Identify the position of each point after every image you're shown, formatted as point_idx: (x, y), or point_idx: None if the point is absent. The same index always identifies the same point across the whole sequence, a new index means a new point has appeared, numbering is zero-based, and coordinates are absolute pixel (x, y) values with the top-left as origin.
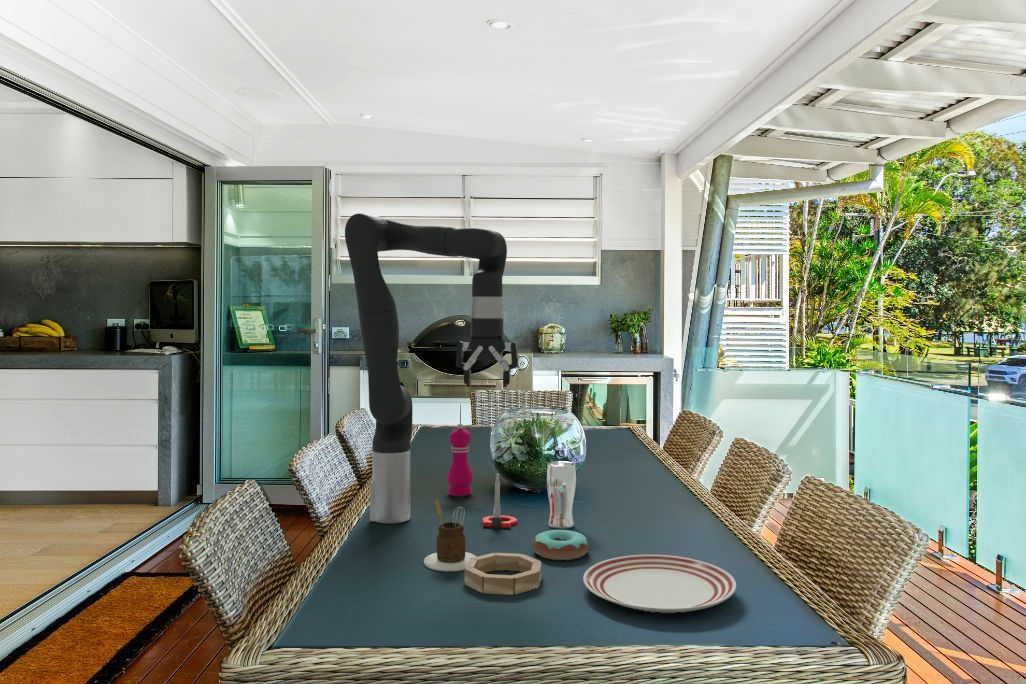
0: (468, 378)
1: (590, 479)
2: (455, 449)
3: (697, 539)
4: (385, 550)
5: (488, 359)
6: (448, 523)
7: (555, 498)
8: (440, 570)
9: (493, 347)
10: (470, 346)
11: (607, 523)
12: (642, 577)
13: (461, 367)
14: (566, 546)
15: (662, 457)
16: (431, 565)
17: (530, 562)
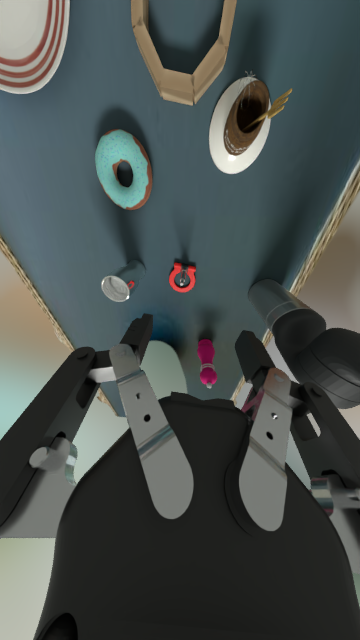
0: (254, 344)
1: None
2: (211, 366)
3: (25, 225)
4: (294, 190)
5: (192, 400)
6: (250, 132)
7: (131, 268)
8: None
9: (152, 491)
10: (327, 521)
11: (103, 274)
12: (11, 16)
13: (293, 383)
14: (111, 131)
15: (98, 389)
16: None
17: (147, 31)
